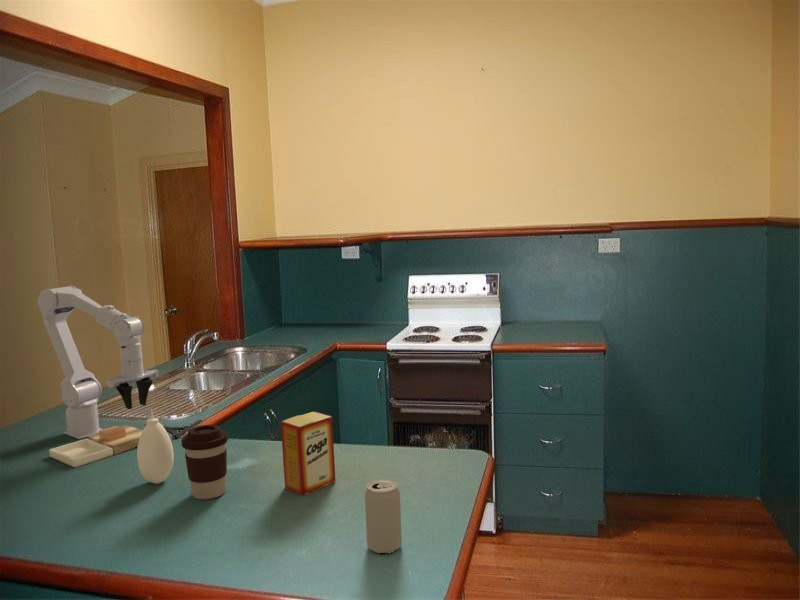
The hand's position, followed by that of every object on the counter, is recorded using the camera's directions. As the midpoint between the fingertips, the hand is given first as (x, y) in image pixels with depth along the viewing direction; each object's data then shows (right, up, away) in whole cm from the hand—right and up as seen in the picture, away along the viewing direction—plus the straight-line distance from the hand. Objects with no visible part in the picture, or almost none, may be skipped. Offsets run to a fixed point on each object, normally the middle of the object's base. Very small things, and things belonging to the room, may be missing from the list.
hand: (136, 406), depth 182 cm
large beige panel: (-3, -10, -3) cm, 11 cm away
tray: (-10, -11, -12) cm, 19 cm away
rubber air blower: (+18, -13, -31) cm, 38 cm away
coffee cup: (+33, -13, -39) cm, 52 cm away
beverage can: (+73, -15, -65) cm, 99 cm away
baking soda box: (+55, -12, -36) cm, 67 cm away
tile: (-4, -8, -5) cm, 10 cm away
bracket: (+6, -9, +8) cm, 14 cm away
